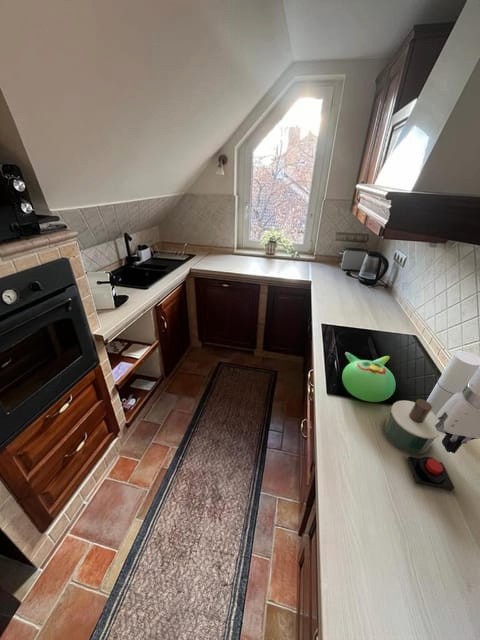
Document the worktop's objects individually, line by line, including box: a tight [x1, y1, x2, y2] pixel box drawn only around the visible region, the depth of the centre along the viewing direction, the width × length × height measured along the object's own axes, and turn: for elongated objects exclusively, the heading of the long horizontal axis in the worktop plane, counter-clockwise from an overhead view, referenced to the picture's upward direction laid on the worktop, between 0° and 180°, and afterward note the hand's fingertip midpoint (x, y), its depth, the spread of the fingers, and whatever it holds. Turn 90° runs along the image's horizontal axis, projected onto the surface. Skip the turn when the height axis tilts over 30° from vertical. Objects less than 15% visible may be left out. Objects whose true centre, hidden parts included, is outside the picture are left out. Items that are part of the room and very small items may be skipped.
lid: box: [390, 398, 443, 439], centre depth 77 cm, size 14×14×7 cm
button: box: [425, 458, 443, 475], centre depth 70 cm, size 4×4×2 cm
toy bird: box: [341, 351, 397, 403], centre depth 95 cm, size 18×17×15 cm
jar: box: [384, 412, 437, 455], centre depth 81 cm, size 13×13×8 cm
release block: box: [406, 455, 455, 492], centre depth 71 cm, size 9×7×4 cm
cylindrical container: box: [426, 350, 480, 415], centre depth 85 cm, size 7×7×25 cm
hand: (447, 447), depth 66 cm, fingers closed
